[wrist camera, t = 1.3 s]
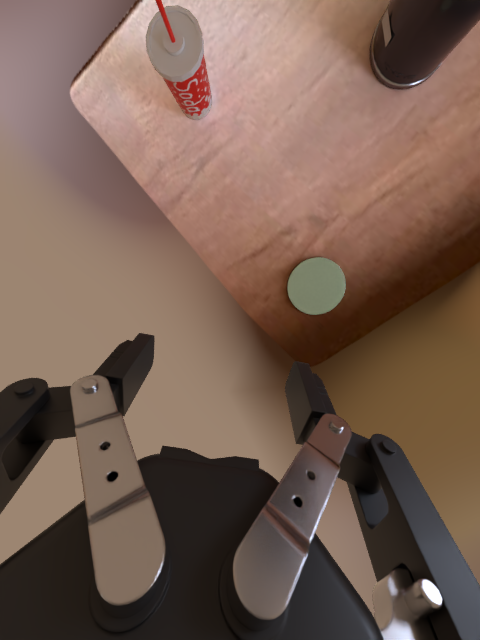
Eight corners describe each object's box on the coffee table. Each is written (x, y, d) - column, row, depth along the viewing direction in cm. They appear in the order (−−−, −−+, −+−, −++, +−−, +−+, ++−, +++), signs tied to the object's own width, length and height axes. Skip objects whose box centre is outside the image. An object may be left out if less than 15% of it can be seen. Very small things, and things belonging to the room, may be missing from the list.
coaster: (302, 248, 37) (302, 248, 36) (354, 271, 37) (356, 271, 36) (277, 301, 39) (278, 301, 38) (327, 322, 39) (329, 323, 38)
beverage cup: (172, 121, 34) (115, 24, 21) (178, 71, 33) (121, -69, 19) (213, 129, 34) (183, 36, 20) (220, 79, 33) (194, -56, 19)
